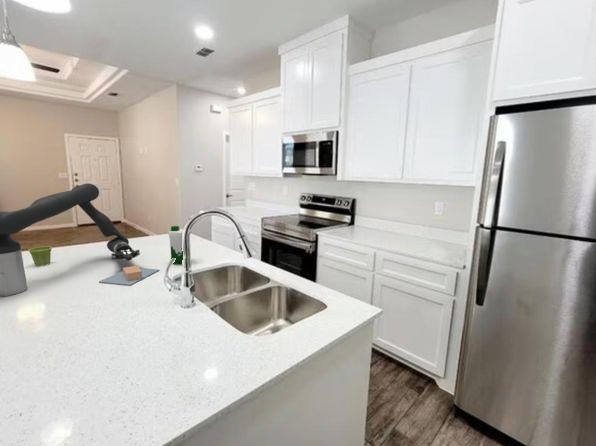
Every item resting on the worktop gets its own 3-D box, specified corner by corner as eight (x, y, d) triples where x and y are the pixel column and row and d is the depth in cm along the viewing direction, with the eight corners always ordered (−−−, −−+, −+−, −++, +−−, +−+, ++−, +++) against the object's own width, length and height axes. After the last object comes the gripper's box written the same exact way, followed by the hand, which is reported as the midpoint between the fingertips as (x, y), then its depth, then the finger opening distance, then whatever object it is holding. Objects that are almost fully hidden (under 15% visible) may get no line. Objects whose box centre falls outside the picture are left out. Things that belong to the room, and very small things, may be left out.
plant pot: (43, 267, 151) (41, 251, 150) (25, 267, 151) (23, 250, 150) (58, 261, 160) (56, 246, 159) (41, 261, 161) (39, 245, 159)
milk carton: (178, 259, 168) (175, 224, 164) (192, 260, 166) (190, 225, 162) (168, 264, 159) (165, 227, 156) (183, 265, 158) (181, 228, 154)
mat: (130, 285, 131) (130, 284, 130) (98, 282, 133) (98, 281, 133) (159, 270, 150) (159, 269, 150) (131, 268, 153) (131, 267, 153)
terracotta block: (122, 267, 141) (126, 273, 134) (136, 265, 145) (141, 271, 137) (123, 274, 142) (127, 281, 134) (137, 272, 146) (142, 278, 138)
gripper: (107, 245, 151) (112, 253, 138) (136, 241, 159) (143, 248, 146) (108, 259, 153) (114, 268, 139) (137, 255, 161) (145, 263, 147)
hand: (129, 258), depth 143 cm, fingers closed
